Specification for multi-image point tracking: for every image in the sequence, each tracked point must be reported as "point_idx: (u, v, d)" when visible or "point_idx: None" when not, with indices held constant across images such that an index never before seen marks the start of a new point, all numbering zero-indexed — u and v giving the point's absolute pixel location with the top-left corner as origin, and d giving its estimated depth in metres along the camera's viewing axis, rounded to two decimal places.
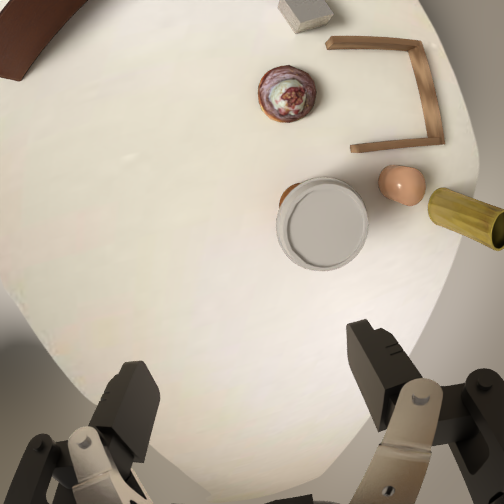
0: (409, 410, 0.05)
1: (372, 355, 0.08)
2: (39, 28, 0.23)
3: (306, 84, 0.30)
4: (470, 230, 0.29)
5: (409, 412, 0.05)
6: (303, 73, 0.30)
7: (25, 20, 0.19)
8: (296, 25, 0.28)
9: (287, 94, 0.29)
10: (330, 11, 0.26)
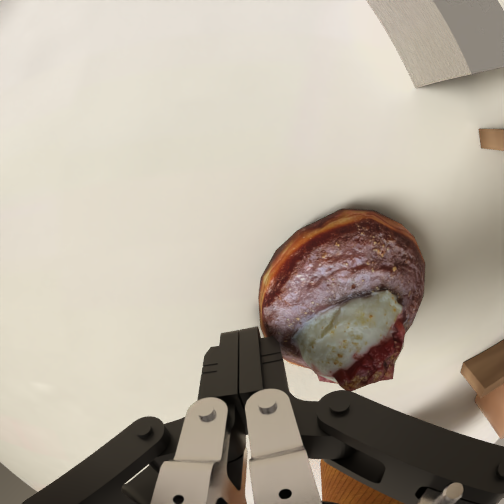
0: (262, 421, 0.06)
1: (244, 361, 0.09)
2: None
3: (412, 296, 0.10)
4: None
5: (247, 418, 0.07)
6: (409, 253, 0.10)
7: None
8: (439, 70, 0.07)
9: (359, 379, 0.08)
10: None
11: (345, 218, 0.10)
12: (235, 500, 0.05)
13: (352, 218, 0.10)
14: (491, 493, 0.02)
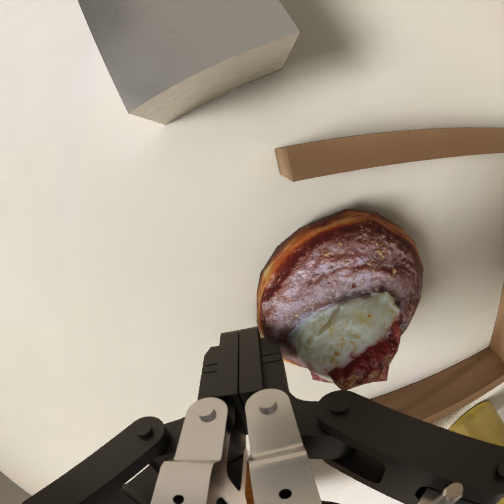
0: (262, 421, 0.06)
1: (244, 361, 0.09)
2: None
3: (409, 299, 0.10)
4: None
5: (247, 418, 0.07)
6: (409, 256, 0.10)
7: None
8: None
9: (354, 378, 0.08)
10: (283, 21, 0.06)
11: (349, 218, 0.10)
12: (235, 500, 0.05)
13: (356, 218, 0.10)
14: (491, 493, 0.02)
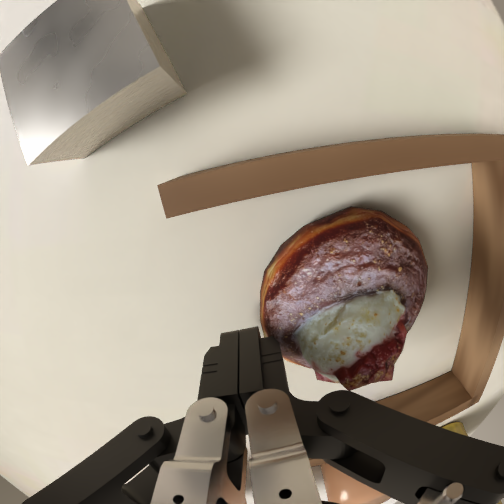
0: (262, 421, 0.06)
1: (244, 361, 0.09)
2: None
3: (414, 297, 0.10)
4: None
5: (247, 418, 0.07)
6: (414, 254, 0.10)
7: None
8: None
9: (361, 378, 0.08)
10: (144, 58, 0.06)
11: (354, 216, 0.10)
12: (235, 500, 0.05)
13: (361, 216, 0.10)
14: (491, 493, 0.02)
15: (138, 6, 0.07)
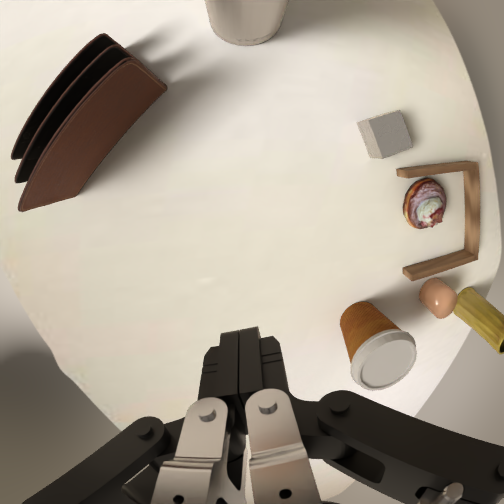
0: (262, 421, 0.06)
1: (244, 361, 0.09)
2: (99, 144, 0.29)
3: (444, 201, 0.34)
4: (484, 336, 0.34)
5: (247, 418, 0.07)
6: (442, 190, 0.34)
7: (83, 142, 0.25)
8: (375, 154, 0.33)
9: (436, 215, 0.33)
10: (410, 144, 0.31)
11: (428, 179, 0.34)
12: (235, 500, 0.05)
13: (430, 179, 0.34)
14: (491, 493, 0.02)
15: None
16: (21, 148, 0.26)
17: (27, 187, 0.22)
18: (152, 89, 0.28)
